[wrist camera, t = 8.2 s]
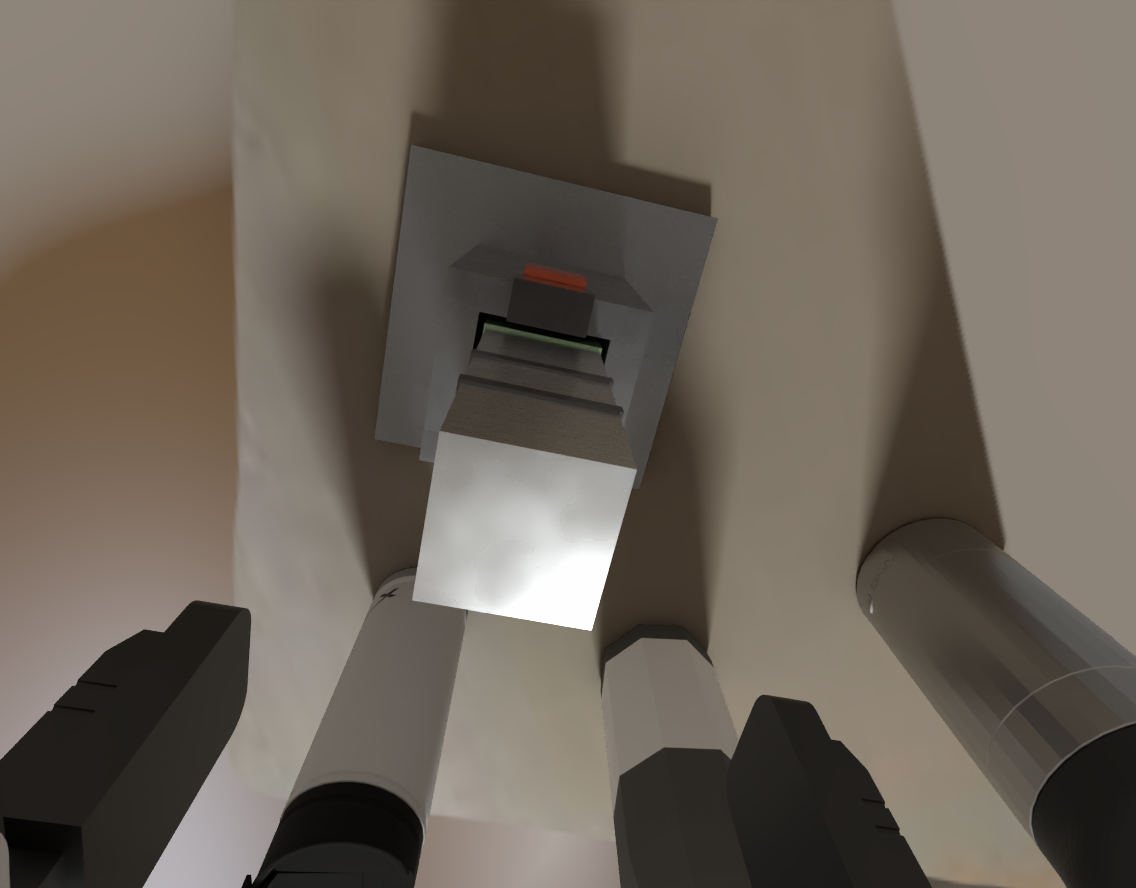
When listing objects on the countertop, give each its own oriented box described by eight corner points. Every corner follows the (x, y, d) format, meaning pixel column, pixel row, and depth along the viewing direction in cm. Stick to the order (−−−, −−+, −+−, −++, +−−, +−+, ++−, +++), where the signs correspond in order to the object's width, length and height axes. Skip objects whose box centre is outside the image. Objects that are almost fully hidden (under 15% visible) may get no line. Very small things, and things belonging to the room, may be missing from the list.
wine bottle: (694, 607, 45) (941, 1309, 17) (721, 695, 47) (969, 1420, 19) (582, 639, 45) (637, 1364, 17) (615, 723, 48) (707, 1463, 20)
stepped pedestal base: (711, 217, 35) (798, 231, 23) (636, 479, 41) (673, 604, 29) (416, 146, 34) (340, 121, 21) (380, 430, 39) (304, 540, 27)
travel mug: (370, 560, 42) (232, 849, 24) (471, 569, 43) (413, 860, 24) (369, 639, 45) (241, 959, 26) (465, 646, 45) (407, 967, 27)
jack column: (591, 317, 31) (642, 466, 14) (570, 406, 33) (594, 634, 16) (497, 296, 31) (435, 425, 14) (480, 388, 32) (407, 603, 16)
